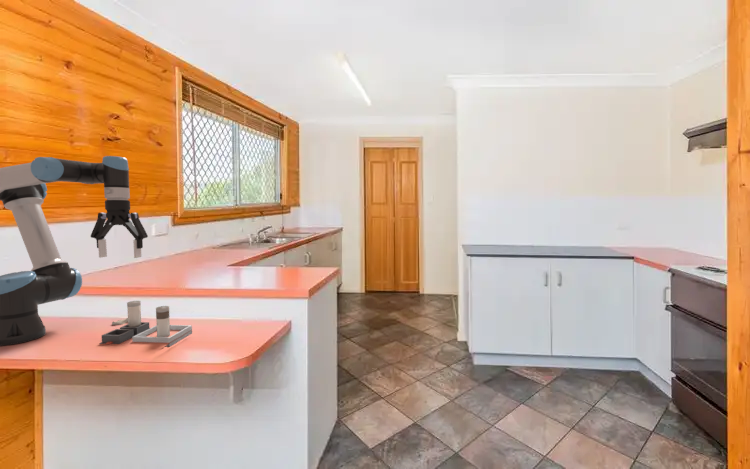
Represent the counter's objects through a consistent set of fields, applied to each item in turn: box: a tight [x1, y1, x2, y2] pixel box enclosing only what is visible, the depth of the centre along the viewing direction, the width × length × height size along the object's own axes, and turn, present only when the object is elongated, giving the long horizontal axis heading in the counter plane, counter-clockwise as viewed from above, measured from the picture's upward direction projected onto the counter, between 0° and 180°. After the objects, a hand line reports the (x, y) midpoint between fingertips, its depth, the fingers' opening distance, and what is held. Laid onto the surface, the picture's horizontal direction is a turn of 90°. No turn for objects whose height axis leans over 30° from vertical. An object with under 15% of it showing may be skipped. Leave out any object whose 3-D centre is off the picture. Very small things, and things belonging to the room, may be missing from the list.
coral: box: [111, 317, 128, 326], centre depth 145 cm, size 6×10×4 cm, turn 178°
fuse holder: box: [99, 321, 151, 345], centre depth 128 cm, size 7×16×4 cm, turn 176°
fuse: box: [126, 300, 142, 327], centre depth 132 cm, size 4×4×11 cm
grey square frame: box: [131, 324, 193, 348], centre depth 129 cm, size 13×13×3 cm
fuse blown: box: [155, 305, 171, 337], centre depth 128 cm, size 4×4×11 cm
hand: (120, 257), depth 133 cm, fingers open, 13 cm apart
